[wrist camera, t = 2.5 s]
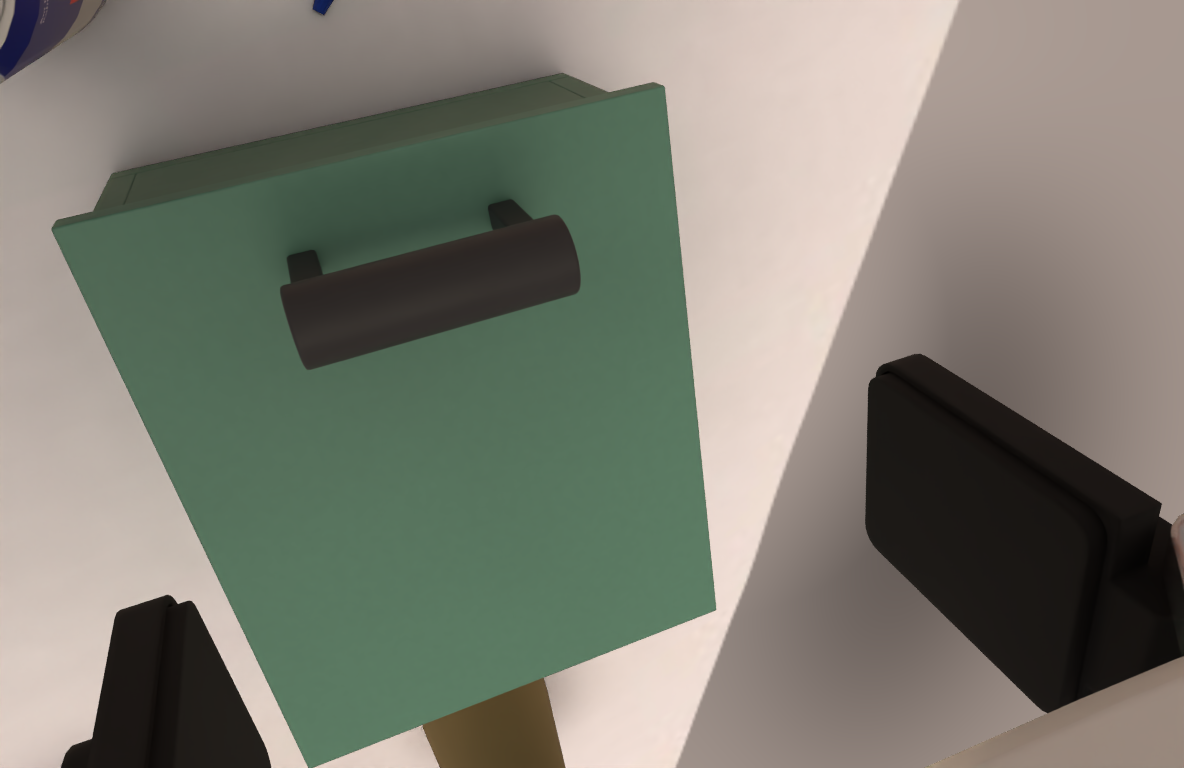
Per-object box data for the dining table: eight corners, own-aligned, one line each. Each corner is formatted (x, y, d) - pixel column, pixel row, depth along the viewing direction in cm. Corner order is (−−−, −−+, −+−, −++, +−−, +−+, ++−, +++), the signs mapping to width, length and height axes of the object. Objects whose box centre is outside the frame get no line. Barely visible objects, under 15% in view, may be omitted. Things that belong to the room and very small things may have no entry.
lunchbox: (111, 173, 26) (71, 252, 20) (564, 72, 30) (656, 111, 23) (293, 600, 35) (307, 751, 29) (627, 485, 39) (707, 597, 32)
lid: (55, 219, 20) (3, 304, 15) (654, 81, 23) (755, 117, 18) (307, 752, 29) (320, 902, 24) (708, 598, 32) (784, 704, 28)
